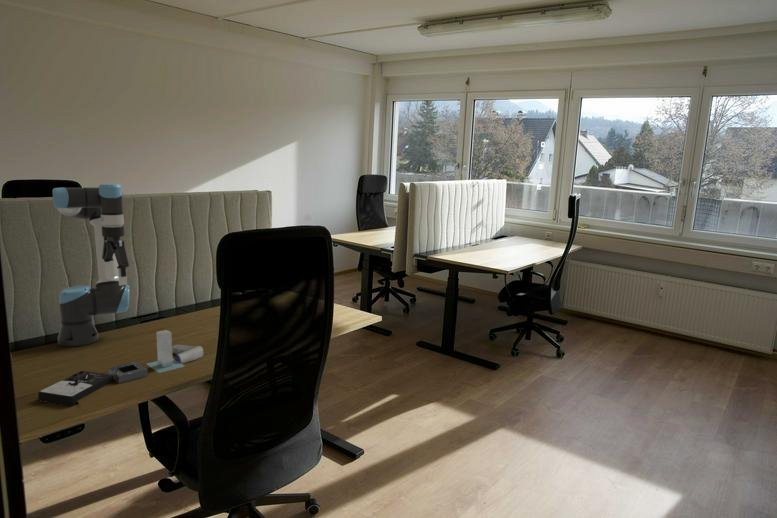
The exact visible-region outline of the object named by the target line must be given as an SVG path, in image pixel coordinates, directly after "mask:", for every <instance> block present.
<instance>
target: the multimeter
mask: <svg viewBox="0 0 777 518" xmlns="http://www.w3.org/2000/svg"><path fill="white" fill-rule="evenodd" d="M114 381H115V380H114V379H113V376H112V375H109V373H103V372H102V373H101V372H93V371H86V370H80V371H78V372H76V373H74V374H72V375H70V376H68V377H67V378H65V379H62V380H60V381H58V382H55V383H54V384H52V385H50V386H47V387H45V388H44V389H41V390H40V391H39V392H38V393H37V394H38V395H37V396H38V397H37V398H38V401H39V400H41V401H47V402H51V403H50V404H53V403H56V404H55V405H59V404H62V405H61V406H66V405H67V407H74V406H76V405H77V404H79V401H80V400H82V399H83V398H85V397H87V396H89V395H90V394H92V393H94V392H96V391H98V390H100V389H101V388H103V387H105V386H107V385H109V384H110V383H112V382H114Z"/></svg>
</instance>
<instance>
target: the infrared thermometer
mask: <svg viewBox="0 0 777 518" xmlns="http://www.w3.org/2000/svg"><path fill="white" fill-rule="evenodd" d="M172 354H175V360H176V361H178V362H179V363H181V364H185V363H189V362H193V361H196V360H198V359H201V358H203V357H204V348H203V347H202V346H201V345H185V344H174V345H172Z"/></svg>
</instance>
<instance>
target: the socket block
mask: <svg viewBox="0 0 777 518" xmlns="http://www.w3.org/2000/svg"><path fill="white" fill-rule="evenodd" d="M148 369H149V368H146V367H145V366H144V365H142V363H139V362H138V361H134V362H129V363H124V364H121V365H116V366H111V367H109V368H108V374H109V375H112V376H113V379H114V381H116V382H117V383H118V384H122V383H126V382H130V381H134V380H137V379H138V380H139V379H142V378H146V377H148V376H149V371H148Z"/></svg>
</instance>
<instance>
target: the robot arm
mask: <svg viewBox="0 0 777 518" xmlns="http://www.w3.org/2000/svg"><path fill="white" fill-rule="evenodd" d="M52 200H53V201H52V202H53V207H54V208H55V209H56V210H57V211H58V213H60V214H61V215H63V216H65V217H69V218H71V219H76V220H89V224H90V225H91V226H93V227H94V228H93V229H94V230H93V231H94V239H95V240H94V241H95V242H94V243H95V249H96V250H95V251H96V261H97V262H96V263H97V273H98V275H97V276H98V280H97V281H96V283H95V287H93V288H92V287H91V286H90V285H89V284H77V285H73V286H69V287H66V288H63V289H62V290H61V291H60V292H59V295H58V297H59V299H58V304H59V313H60V329H59V332H58V336H57V345H59V346H62V347H79V346H80V347H81V346H87V345H90V344H93V343H95V342H97V341H98V340H99V332H98V330H97V328H96V326H95V323H94V322H93V317H94V316H100V315H109V314H118V313H119V314H120V313H125V312H127V311H128V309H129V307H130V291H131V290H130V284H129V285H128V274H127V268H128V267H129V266H130V264H129V260H128V257H127V252H126V247H125V240H121V237H124V236H125V226H124V224H125V219H124V211H123V209H124V207H123V205H124V204H123V189H122V186H121V184H120V183H101V184H99V185H98V187H64V186H63V187H55V188H53V189H52Z"/></svg>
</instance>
